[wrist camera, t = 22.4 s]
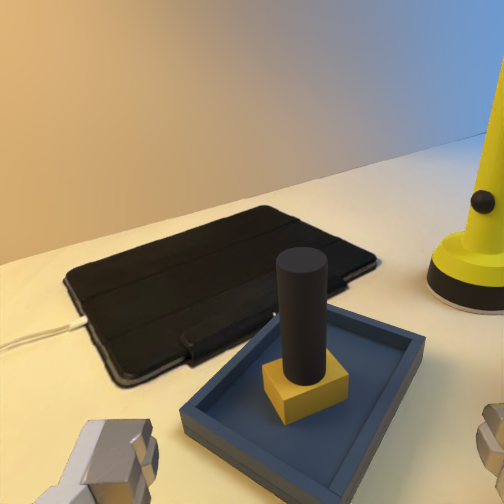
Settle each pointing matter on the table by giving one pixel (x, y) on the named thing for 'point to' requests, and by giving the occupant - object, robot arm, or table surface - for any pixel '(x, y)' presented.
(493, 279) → the flashlight
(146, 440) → the robot arm
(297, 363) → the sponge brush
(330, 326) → the tray
